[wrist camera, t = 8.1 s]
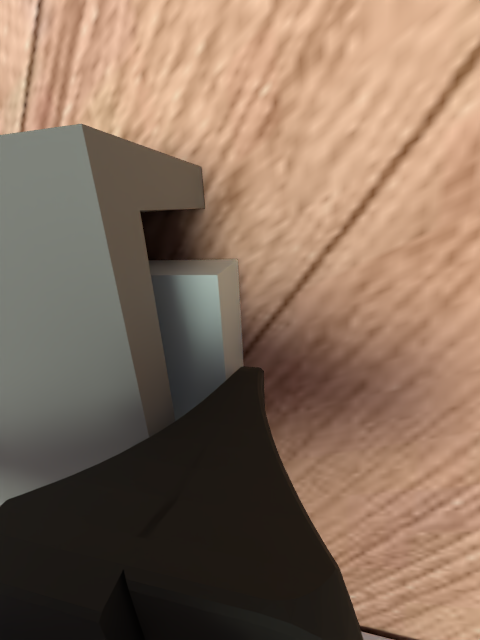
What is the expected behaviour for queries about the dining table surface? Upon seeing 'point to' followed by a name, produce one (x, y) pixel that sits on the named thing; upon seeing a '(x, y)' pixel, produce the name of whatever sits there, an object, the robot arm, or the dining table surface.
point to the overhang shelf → (80, 300)
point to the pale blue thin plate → (198, 325)
